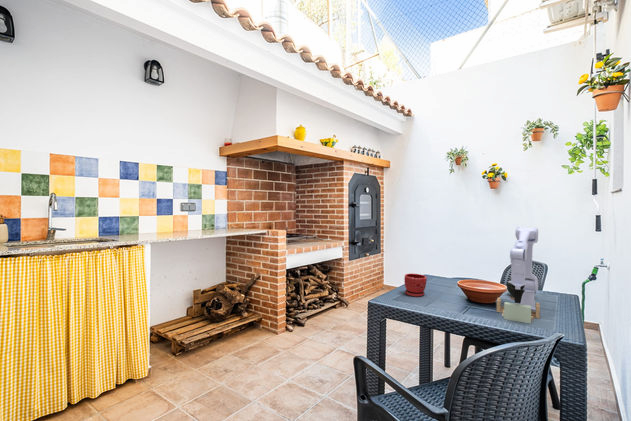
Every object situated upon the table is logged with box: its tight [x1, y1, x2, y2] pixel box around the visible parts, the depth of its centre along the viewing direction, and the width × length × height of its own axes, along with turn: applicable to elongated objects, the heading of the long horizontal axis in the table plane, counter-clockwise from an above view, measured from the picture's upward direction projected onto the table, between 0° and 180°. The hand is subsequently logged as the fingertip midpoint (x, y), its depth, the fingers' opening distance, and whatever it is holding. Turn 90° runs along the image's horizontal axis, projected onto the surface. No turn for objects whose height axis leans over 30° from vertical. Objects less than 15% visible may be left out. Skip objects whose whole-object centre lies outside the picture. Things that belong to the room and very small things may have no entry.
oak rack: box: [496, 297, 541, 320], centre depth 168 cm, size 7×18×6 cm, turn 58°
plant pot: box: [404, 273, 427, 297], centre depth 202 cm, size 13×13×12 cm
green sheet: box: [503, 301, 532, 324], centre depth 158 cm, size 4×11×8 cm, turn 57°
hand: (517, 301), depth 158 cm, fingers open, 7 cm apart
